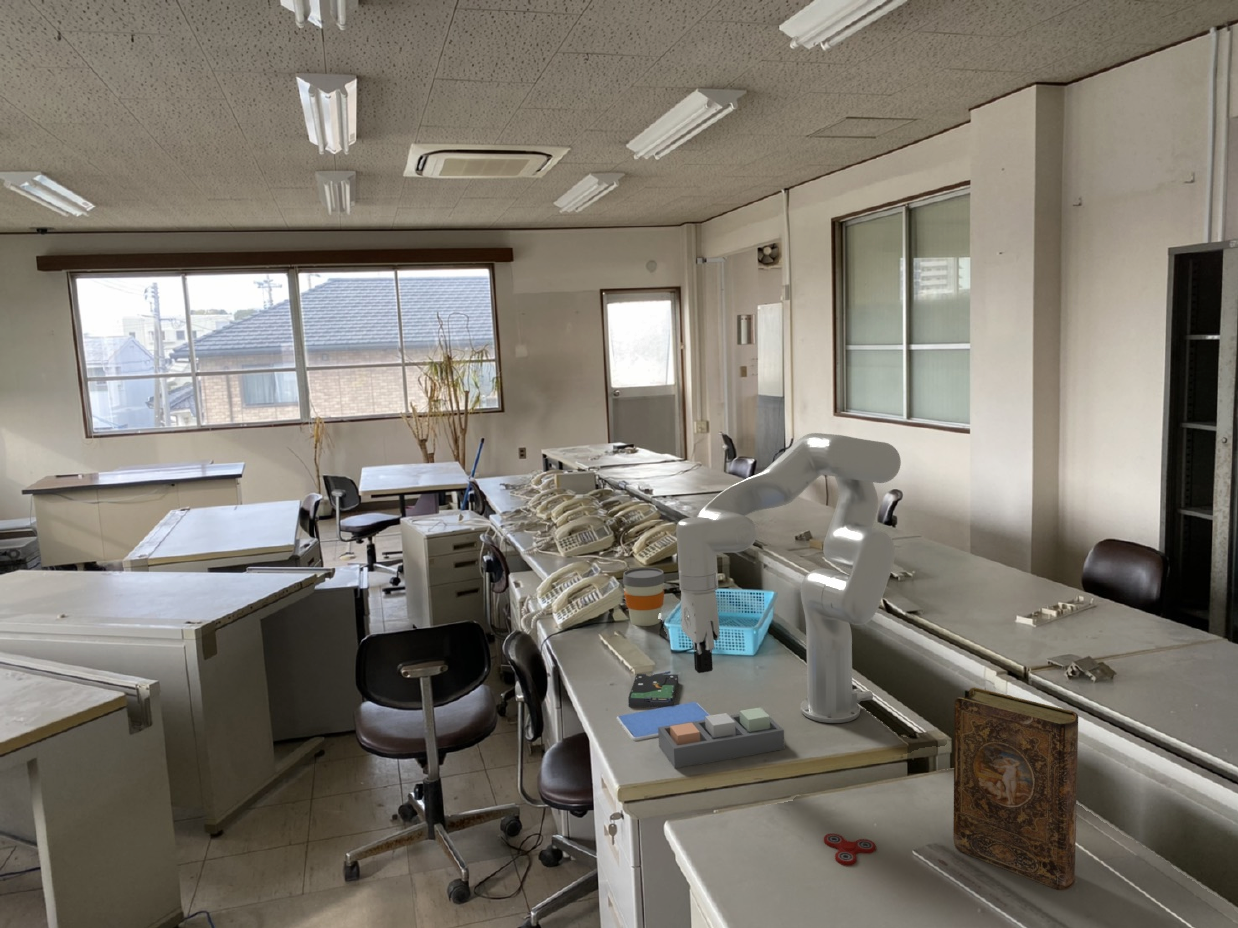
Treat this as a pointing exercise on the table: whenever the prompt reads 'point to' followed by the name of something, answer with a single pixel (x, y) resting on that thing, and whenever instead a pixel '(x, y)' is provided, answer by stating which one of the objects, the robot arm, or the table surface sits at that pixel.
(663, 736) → the grey compartment tray
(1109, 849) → the table surface
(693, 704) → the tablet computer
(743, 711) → the sage key
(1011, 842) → the book
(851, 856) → the fidget spinner
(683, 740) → the terracotta key
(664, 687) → the disk drive
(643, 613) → the reusable coffee cup
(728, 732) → the grey key
